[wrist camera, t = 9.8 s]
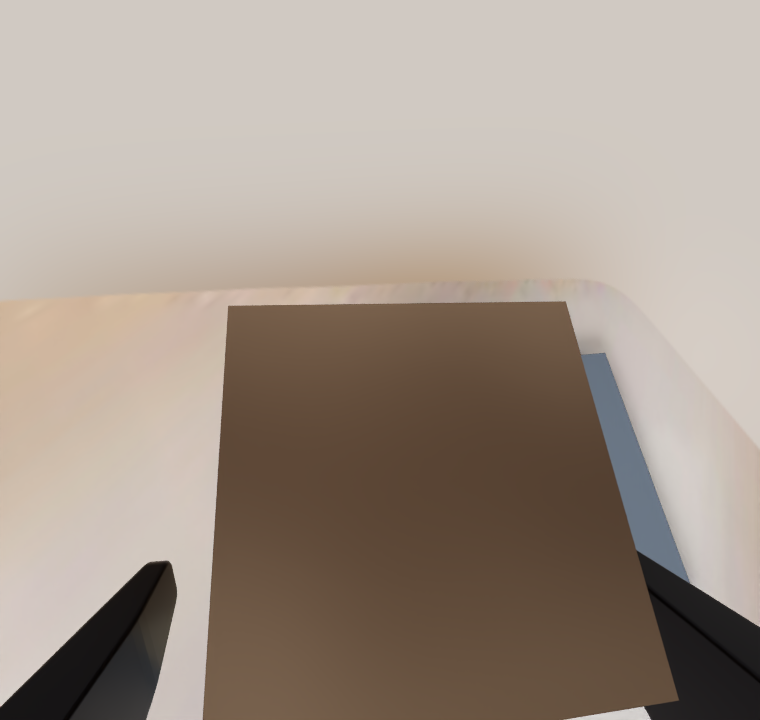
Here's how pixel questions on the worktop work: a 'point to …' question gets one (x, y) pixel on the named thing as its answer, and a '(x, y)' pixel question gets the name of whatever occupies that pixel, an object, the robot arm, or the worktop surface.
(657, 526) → the board
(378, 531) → the walnut pillar
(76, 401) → the worktop surface
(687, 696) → the robot arm
